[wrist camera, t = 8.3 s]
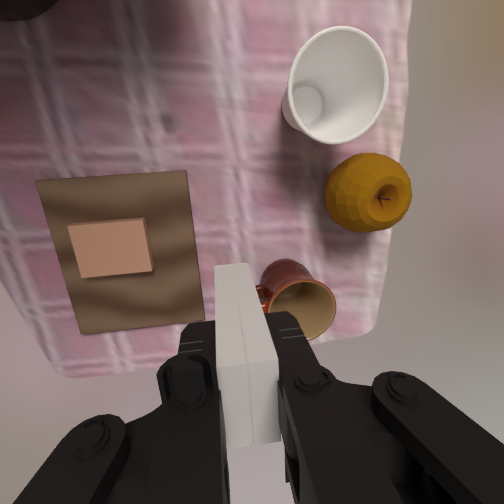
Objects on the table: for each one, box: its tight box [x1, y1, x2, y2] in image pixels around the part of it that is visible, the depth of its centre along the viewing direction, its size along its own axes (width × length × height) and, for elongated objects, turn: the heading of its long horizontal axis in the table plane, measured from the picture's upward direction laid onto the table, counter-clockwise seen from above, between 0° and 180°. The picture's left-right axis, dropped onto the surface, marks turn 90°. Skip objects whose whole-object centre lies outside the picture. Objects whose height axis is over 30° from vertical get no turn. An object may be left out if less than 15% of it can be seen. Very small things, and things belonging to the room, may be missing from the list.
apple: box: [325, 153, 412, 232], centre depth 36 cm, size 10×10×12 cm
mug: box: [255, 259, 336, 341], centre depth 40 cm, size 12×9×10 cm
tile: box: [67, 217, 154, 278], centre depth 38 cm, size 7×2×9 cm
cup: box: [282, 26, 389, 145], centre depth 33 cm, size 10×10×11 cm
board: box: [35, 170, 205, 334], centre depth 41 cm, size 22×18×1 cm
